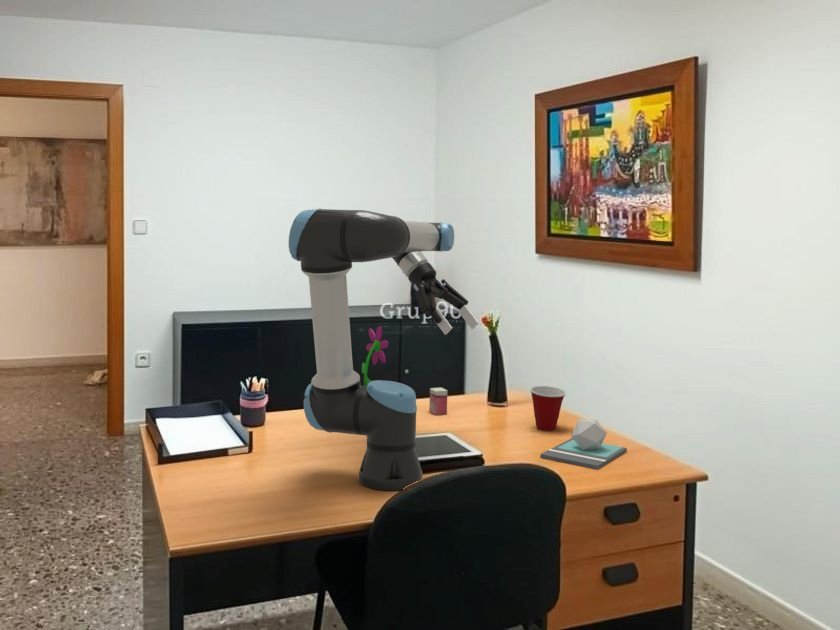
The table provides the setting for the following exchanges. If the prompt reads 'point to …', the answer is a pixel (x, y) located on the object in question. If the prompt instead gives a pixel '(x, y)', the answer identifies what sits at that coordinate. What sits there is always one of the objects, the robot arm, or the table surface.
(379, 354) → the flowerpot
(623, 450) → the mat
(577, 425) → the die
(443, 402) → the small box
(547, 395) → the plastic cup
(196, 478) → the table surface
